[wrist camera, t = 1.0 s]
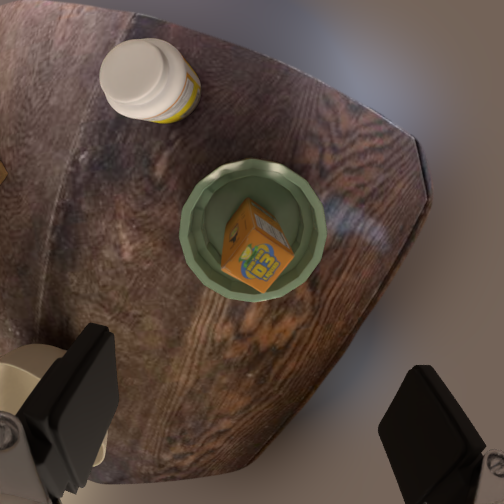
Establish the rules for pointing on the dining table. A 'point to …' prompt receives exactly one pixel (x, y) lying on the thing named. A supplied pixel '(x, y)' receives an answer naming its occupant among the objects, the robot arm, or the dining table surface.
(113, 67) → the supplement bottle
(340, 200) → the dining table surface
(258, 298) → the green bowl
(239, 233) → the supplement box
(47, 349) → the bowl
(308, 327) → the dining table surface
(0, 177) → the wooden holder
